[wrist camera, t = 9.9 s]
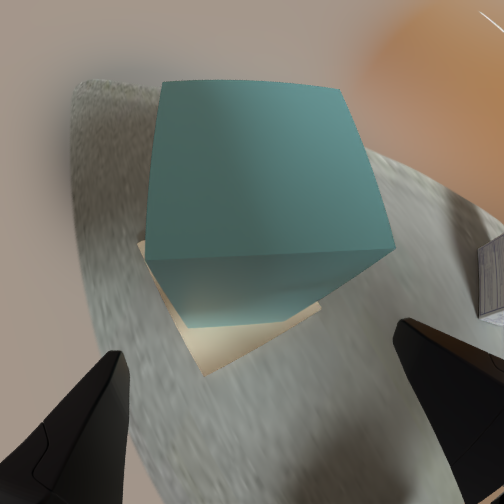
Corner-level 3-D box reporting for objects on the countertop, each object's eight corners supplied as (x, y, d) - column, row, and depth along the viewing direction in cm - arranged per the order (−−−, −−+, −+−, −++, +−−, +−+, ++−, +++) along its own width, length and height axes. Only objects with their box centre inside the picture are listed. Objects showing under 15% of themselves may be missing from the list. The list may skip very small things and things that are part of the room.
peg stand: (317, 311, 21) (342, 297, 17) (204, 376, 18) (202, 380, 14) (247, 199, 23) (255, 164, 19) (140, 248, 21) (124, 220, 17)
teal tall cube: (284, 321, 19) (395, 248, 7) (188, 328, 18) (144, 260, 6) (273, 234, 21) (339, 89, 9) (184, 237, 20) (162, 81, 8)
